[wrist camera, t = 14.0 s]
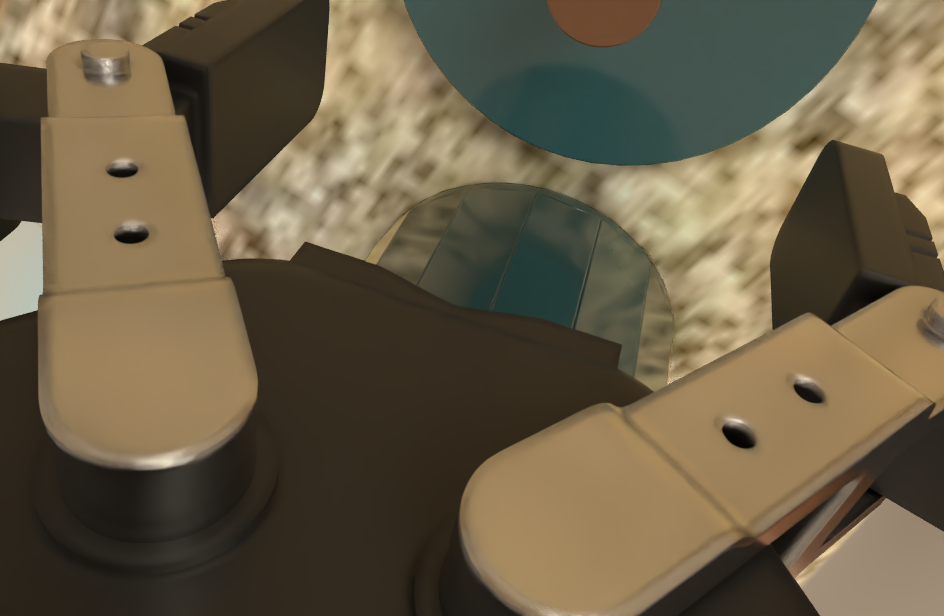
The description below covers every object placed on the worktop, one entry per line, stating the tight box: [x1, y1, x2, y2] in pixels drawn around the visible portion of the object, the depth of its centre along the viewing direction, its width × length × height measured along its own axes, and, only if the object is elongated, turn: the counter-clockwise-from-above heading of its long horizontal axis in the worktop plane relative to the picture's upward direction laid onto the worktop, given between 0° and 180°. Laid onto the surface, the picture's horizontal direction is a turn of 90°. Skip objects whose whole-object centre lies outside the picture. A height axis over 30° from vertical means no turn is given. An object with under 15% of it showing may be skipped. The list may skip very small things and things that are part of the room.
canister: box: [365, 183, 674, 392], centre depth 26 cm, size 12×12×14 cm
